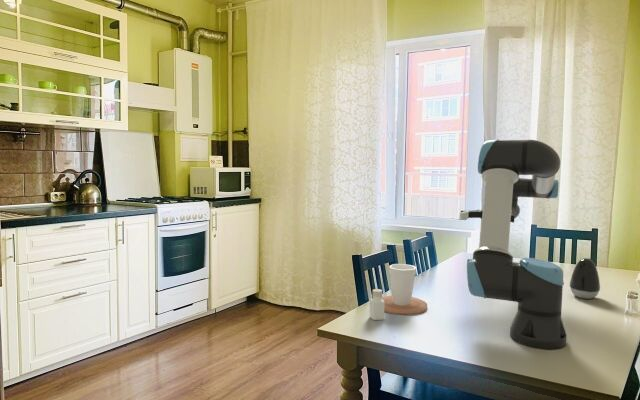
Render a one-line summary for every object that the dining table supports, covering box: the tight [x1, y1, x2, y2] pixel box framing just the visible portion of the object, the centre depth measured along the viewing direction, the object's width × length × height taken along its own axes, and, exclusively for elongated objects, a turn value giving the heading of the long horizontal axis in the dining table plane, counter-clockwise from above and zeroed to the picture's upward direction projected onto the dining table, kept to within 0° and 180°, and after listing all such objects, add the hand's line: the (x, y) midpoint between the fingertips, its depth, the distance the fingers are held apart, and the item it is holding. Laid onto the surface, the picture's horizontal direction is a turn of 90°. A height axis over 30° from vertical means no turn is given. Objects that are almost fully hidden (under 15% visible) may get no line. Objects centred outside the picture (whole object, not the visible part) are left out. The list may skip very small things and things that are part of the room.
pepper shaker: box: [369, 288, 385, 321], centre depth 153 cm, size 4×4×10 cm
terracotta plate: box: [382, 295, 428, 316], centre depth 166 cm, size 18×18×1 cm
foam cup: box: [388, 263, 417, 305], centre depth 166 cm, size 10×9×13 cm
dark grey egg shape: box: [569, 258, 601, 300], centre depth 180 cm, size 10×10×15 cm
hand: (478, 218), depth 169 cm, fingers open, 13 cm apart
